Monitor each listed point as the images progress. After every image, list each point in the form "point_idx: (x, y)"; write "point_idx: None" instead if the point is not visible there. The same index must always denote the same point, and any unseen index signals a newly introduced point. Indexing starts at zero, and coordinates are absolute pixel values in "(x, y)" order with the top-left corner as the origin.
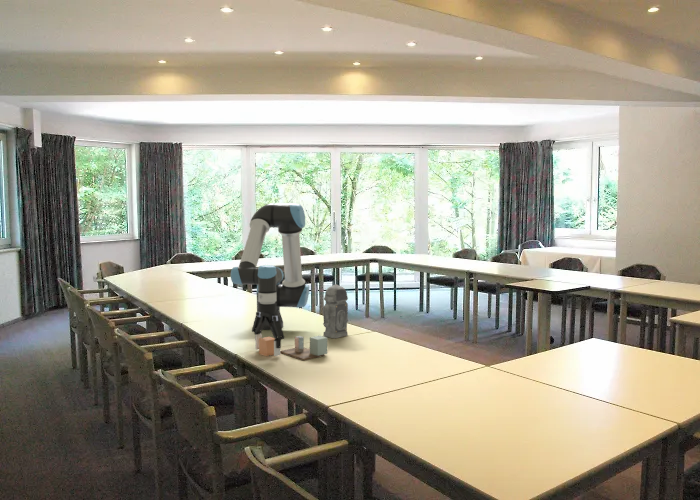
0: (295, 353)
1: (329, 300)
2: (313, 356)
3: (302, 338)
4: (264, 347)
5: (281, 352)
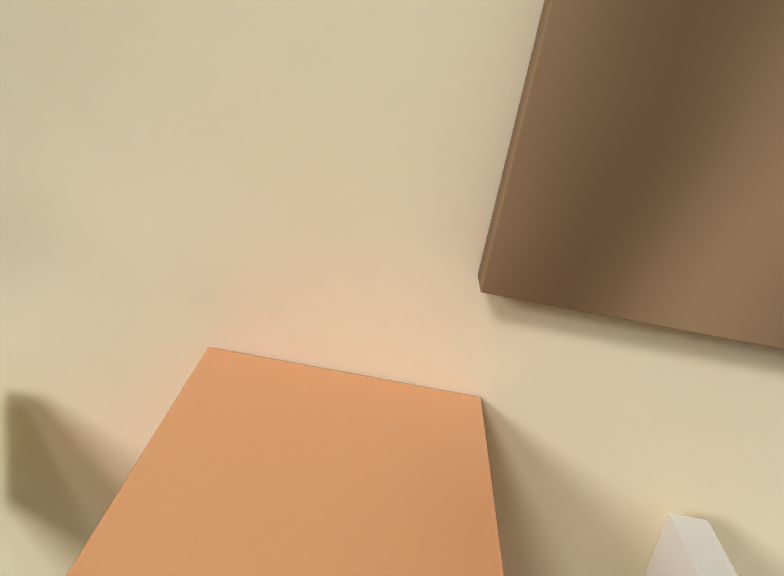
0: None
1: None
2: None
3: None
4: None
5: (528, 291)
